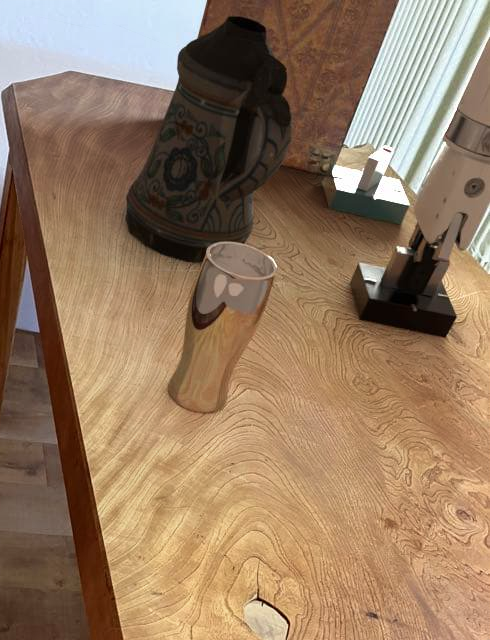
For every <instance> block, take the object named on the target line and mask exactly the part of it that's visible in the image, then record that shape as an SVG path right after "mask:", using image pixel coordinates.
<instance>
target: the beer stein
mask: <svg viewBox="0 0 490 640" xmlns="http://www.w3.org/2000/svg"><path fill="white" fill-rule="evenodd" d="M266 33H267V31H266V28H265V27H264V26H263V25H261V24H260V23H258V22H257V21H254V20H251V19H248V18H244V17H240V16H231V17H228V18H227V19H226V21H225V22H224V23H223V24H222V25H220V26H219V27H218V28H216V29H215V30H213V31H212V32H210V33H208V34H206V35H204V36H201V37H199V38H197V37H196V38H195V39H193V40H191V41H189V42H188V43H187V44H186V45H185V46H183V47H182V48H181V49H180V51H178V54H177V61H176V63H177V64H176V70H177V75H178V78H177V79H178V80H177V83H176V86H175V89H174V92H173V94H172V97H171V99H170V102H169V104H168V107H167V110H166V111H165V116H164V117H163V120H162V122H161V126H160V128H159V130H158V133H157V135H156V138H155V140H154V142H153V146H152V147H151V150H150V152H149V155H148V157H147V159H146V161H145V163H144V165H143V168H142V169H141V171H140V173H139V174H138V176H137V178H136V179H135V180H134V181H133V183H131V185H130V187H129V189H128V191H127V193H126V197H125V199H126V212H125V223H126V226H127V229H128V233H129V234H130V235H131V236H133V237H134V238H135V240H137V241H139V242H140V243H141V244H142V245H143V246H145V247H146V248H148V249H150V250H152V251H154V252H156V253H159V254H161V255H163V256H165V257H169V258H173V259H176V260H178V261H179V260H180V261H183V262H187V263H199V264H202V262H203V259H204V257H205V254H206V250H207V248H208V247H209V246H210V245H211V244H213V243H216V242H223V241H230V242H238V243H243V244H246V242H247V240H248V239H249V237H250V235H251V233H252V231H253V228H254V223H255V222H254V200H255V199H254V198H255V192H256V191H258V190H259V189H260V188H262V187H263V186H264V185H266V183H267V182H268V181H270V180H271V179H272V177H273V176H275V174H276V173H277V172H278V170H279V169H280V166H282V165H281V164H282V162H283V160H284V158H285V156H286V154H287V152H288V149H289V146H290V142H291V138H292V137H291V135H292V122H291V119H292V117H291V113H290V109H291V108H290V106H289V104H288V101H287V100H286V99H285V97H284V96H283V95H282V94H283V92H284V90H285V87H286V84H287V72H286V70H287V69H286V67H285V66H284V64H282V63H281V62H280V61H279V60H277V59H276V58H275V57H274V55H273V53H272V51H271V49H270V47H269V44H268V42H267V40H266Z"/></svg>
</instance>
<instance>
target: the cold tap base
mask: <svg viewBox="0 0 490 640" xmlns="http://www.w3.org/2000/svg"><path fill="white" fill-rule="evenodd" d="M363 170H364V168H362V171H360V170H357V169H351V168H347V167H343V166H338V165H335V166H334V165H329V167H328V170H327V172H326V175H324V178H323V181H322V184H321V185H322V187H323V190H324V195H325V198H326V202H327V206H328V209H329V210H333V211H337V212H342V213H347V214H351V215H355V216H359V217H365V218H369V219H374V220H378V221H383V222H386V223H387V222H388V223H392V224H396V225H402V223H403V221H404V220H405V217H406V215H407V212H408V210H409V208H410V206H411V205H410V203H409V200H408V198H407V195H406V194H405V193H406V192H405V190H404V188H403V185H402V184H401V181H400V179H396V178H392V177H387V176H383V178H382V180H381V181H380V182H379V183H377V184H376V185H375V186H373V187H372V188H370V189H369V190H368V191H364V190H361V189H359V188H357V185H358V182H359V180H360V177H361V175H362V172H363Z"/></svg>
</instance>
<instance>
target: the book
mask: <svg viewBox="0 0 490 640" xmlns="http://www.w3.org/2000/svg"><path fill="white" fill-rule="evenodd" d="M399 1H400V0H206V3H205V7H204V11H203V14H202V19H201V22H200V26H199V31H198V34H197V37H196V39H197V38H199V37H201V36H204V35H206V34H208V33H210V32H212V31H213V30H215V29H216V28H218V27H219V26H220V25H222V24H223V23H224V22H225V21H226V19H227V18H228V17H231V16H240V17H244V18H248V19H251V20H254V21H257V22H258V23H260V24H261V25H263V26H264V27H265V28H266V31H267V33H266V40H267V42H268V44H269V47H270V49H271V51H272V53H273V55H274V57H275V58H276V59H277V60H279V61H280V62H281V63H282V64H284V66H285V67H286V69H287V70H286V72H287V84H286V87H285V90H284V92H283V94H282V95H283V96H284V97H285V99H286V100H287V101H288V104H289V106H290V108H291V109H290V113H291V117H292V119H291V122H292V135H291V137H292V138H291V142H290V146H289V149H288V152H287V154H286V156H285V158H284V160H283V162H282V164H281V165H280V166H285V167H289V168H293V169H298V170H301V171H305V172H309V173H314V174H317V175H322V176H325V175H326V172H327V170H328V167H329V165H334V166H337V165H336V164H337V162H338V160H339V157H340V154H341V152H342V149H343V147H344V144H345V141H346V139H347V136H348V134H349V131H350V128H351V127H352V123H353V121H354V118H355V115H356V113H357V111H358V107H359V105H360V102H361V100H362V98H363V95H364V92H365V90H366V87H367V84H368V82H369V79H370V77H371V74H372V71H373V70H374V66H375V65H376V64H375V63H376V61H377V58H378V57H379V54H380V51H381V48H382V45H383V42H384V40H385V38H386V35H387V33H388V30H389V28H390V25H391V22H392V20H393V17H394V14H395V12H396V9H397V6H398V5H399Z"/></svg>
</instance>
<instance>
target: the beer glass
mask: <svg viewBox="0 0 490 640" xmlns="http://www.w3.org/2000/svg"><path fill="white" fill-rule="evenodd" d="M277 271H278V267H277V264H276V262H275V260H274V259H273V258H272V257H271V256H270V255H268V254H267V253H266V252H264V251H263V250H260V249H259V248H256V247H254V246H252V245H249V244H246V243H245V244H243V243H238V242H230V241H223V242H216V243H213V244H211V245H210V246H209V247H208V248H207V250H206V254H205V257H204V259H203V262H202V263H200V267H199V269H198V272H197V275H196V277H195V280H194V283H193V285H192V288H191V294H190V297H189V300H188V305H187V309H186V316H185V326H184V335H183V342H182V343H183V344H182V351H181V355H180V359H179V361H178V364H177V367H176V369H175V370H174V372H173V374H172V375H171V378H170V380H169V381H168V384H167V391H168V395H169V396H170V398H171V399H172V400H173V402H175V403H176V404H178V405H179V406H181V407H183V408H185V409H187V410H189V411H192V412H196V413H201V412H202V413H201V414H203V413H204V414H210V413H215V412H219V411H220V410H222V409H223V408H224V407H225V405H226V403H227V399H228V394H229V386H230V381H231V377H232V375H233V372H234V370H235V368H236V366H237V364H238V362H239V360H240V359H241V357H242V356H243V354H244V352H245V350H246V349H247V347H248V346H249V344H250V342H251V340H252V339H253V337H254V335H255V333H256V331H257V329H258V327H259V326H260V323H261V321H262V318H263V316H264V313H265V311H266V308H267V304H268V303H269V298H270V294H271V292H272V288H273V283H274V280H275V277H276V273H277Z"/></svg>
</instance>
